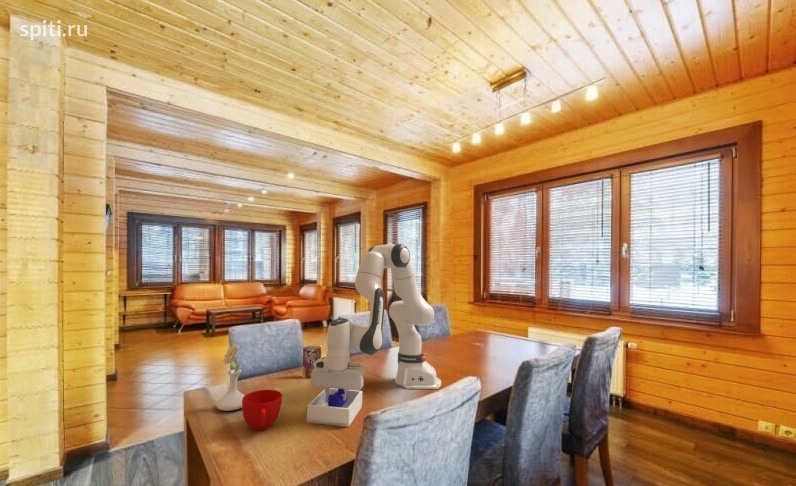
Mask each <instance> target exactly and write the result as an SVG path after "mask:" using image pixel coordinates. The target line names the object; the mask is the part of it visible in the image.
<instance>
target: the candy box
mask: <svg viewBox="0 0 796 486" xmlns="http://www.w3.org/2000/svg"><path fill="white" fill-rule="evenodd" d="M322 350H323V349H322V345H321V344H319V345H318V344H315V345H303V347H302V370H301V372H302V375H301V377H302V378H301V379H311V373H312V370H313V369H314V362H315V361H317V360H318V359H320V358H322Z"/></svg>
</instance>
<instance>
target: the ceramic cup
mask: <svg viewBox="0 0 796 486" xmlns="http://www.w3.org/2000/svg"><path fill="white" fill-rule="evenodd" d="M244 395H245V396H244V397H243V399H242V408H241V409H242V410H241V411H242V416H243V419H244V421H245V423H246V424H247V426H249V427H250V429H251V430H254V431H263V430H264V431H265V430H267V429H269V428H270V427H271V426H272V425H273V424H274V423H275V421H276V420H277V418H278V416H279V413H280V412H281V408H282V401H283V400H282V399H283V393H282V392H281V391H279V390H276V389H259V390H254V391H251V392H248V393H247V394H244Z"/></svg>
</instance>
